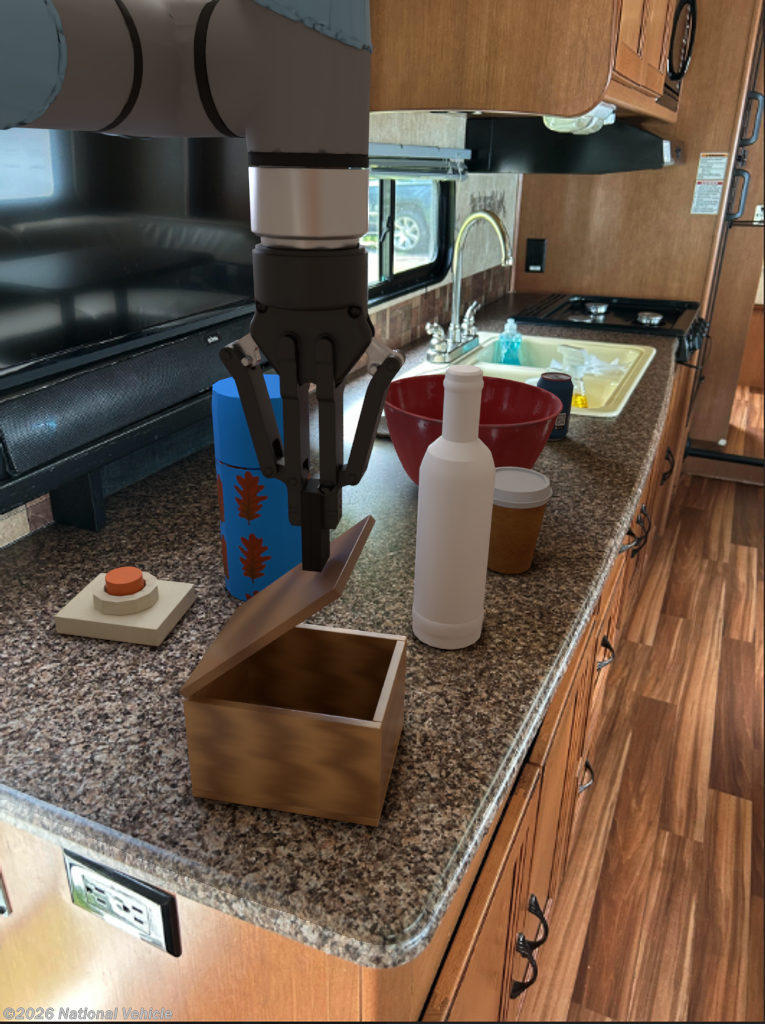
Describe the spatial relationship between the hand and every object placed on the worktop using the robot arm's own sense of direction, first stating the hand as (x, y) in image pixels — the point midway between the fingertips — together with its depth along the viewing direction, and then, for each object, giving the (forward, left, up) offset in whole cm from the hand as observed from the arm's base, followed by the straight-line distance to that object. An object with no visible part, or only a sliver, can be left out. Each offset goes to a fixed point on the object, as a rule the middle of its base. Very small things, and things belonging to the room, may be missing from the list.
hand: (316, 562), depth 59 cm
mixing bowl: (+7, +66, -20) cm, 69 cm away
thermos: (-14, +29, -20) cm, 38 cm away
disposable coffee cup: (+15, +41, -20) cm, 48 cm away
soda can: (+21, +96, -20) cm, 100 cm away
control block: (-27, +18, -20) cm, 38 cm away
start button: (-27, +18, -16) cm, 36 cm away
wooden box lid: (-3, 0, -4) cm, 5 cm away
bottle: (+9, +23, -20) cm, 32 cm away
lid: (-9, +90, -20) cm, 93 cm away
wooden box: (-1, 0, -20) cm, 20 cm away
